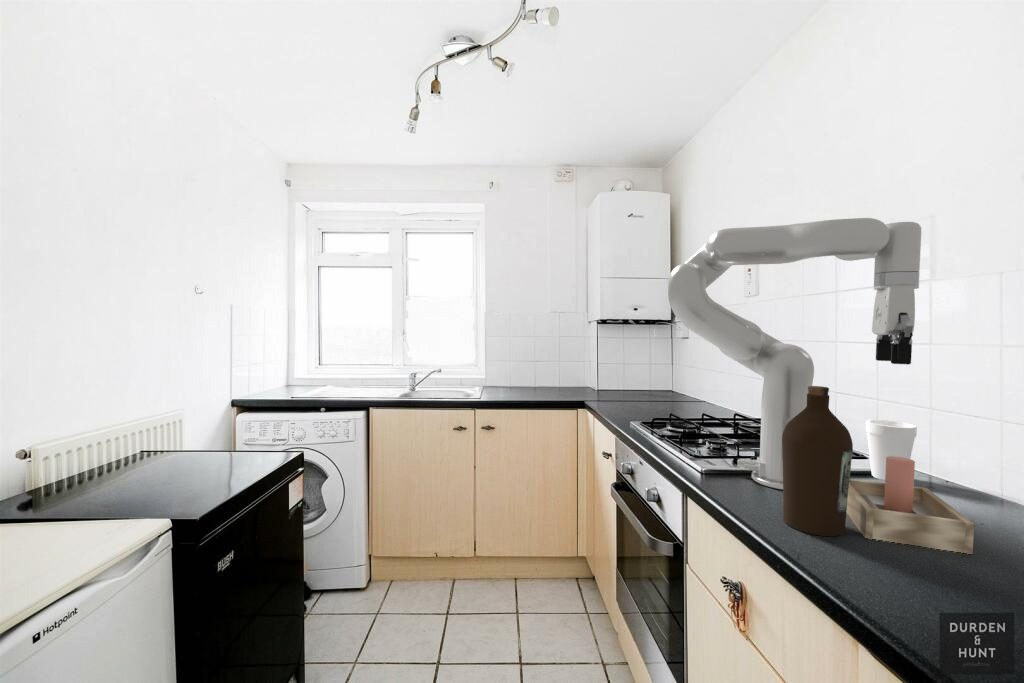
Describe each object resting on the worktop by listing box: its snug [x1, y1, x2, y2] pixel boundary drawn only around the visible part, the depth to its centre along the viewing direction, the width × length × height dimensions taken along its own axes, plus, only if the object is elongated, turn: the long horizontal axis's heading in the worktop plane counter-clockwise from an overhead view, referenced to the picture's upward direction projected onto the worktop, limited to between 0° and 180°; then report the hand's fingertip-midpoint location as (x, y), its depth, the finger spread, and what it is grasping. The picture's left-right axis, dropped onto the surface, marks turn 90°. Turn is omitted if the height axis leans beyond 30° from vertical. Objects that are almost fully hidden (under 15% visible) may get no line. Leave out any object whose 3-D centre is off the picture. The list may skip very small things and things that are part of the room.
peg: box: [884, 456, 916, 514], centre depth 86 cm, size 4×4×12 cm
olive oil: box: [782, 385, 854, 537], centre depth 85 cm, size 11×11×25 cm
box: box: [846, 478, 975, 555], centre depth 86 cm, size 14×18×5 cm
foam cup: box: [865, 419, 918, 481], centre depth 113 cm, size 10×9×13 cm
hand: (892, 362), depth 102 cm, fingers open, 9 cm apart
